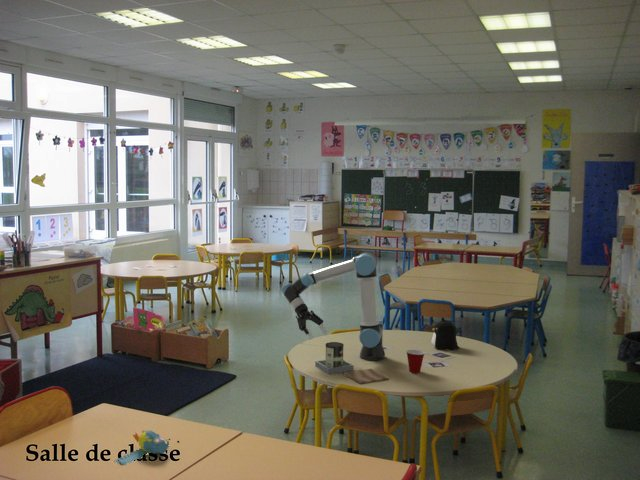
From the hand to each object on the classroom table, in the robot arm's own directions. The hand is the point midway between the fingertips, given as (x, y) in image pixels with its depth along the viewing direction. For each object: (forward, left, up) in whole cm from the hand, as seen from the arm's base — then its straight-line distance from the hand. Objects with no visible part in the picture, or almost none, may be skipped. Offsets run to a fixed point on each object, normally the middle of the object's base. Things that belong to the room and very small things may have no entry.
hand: (319, 336), depth 360 cm
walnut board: (-13, +31, -17) cm, 37 cm away
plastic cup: (-43, +35, -17) cm, 58 cm away
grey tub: (-5, +10, -17) cm, 20 cm away
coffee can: (-5, +10, -17) cm, 20 cm away
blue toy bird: (+112, +74, -18) cm, 136 cm away
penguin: (-91, +2, -17) cm, 92 cm away
